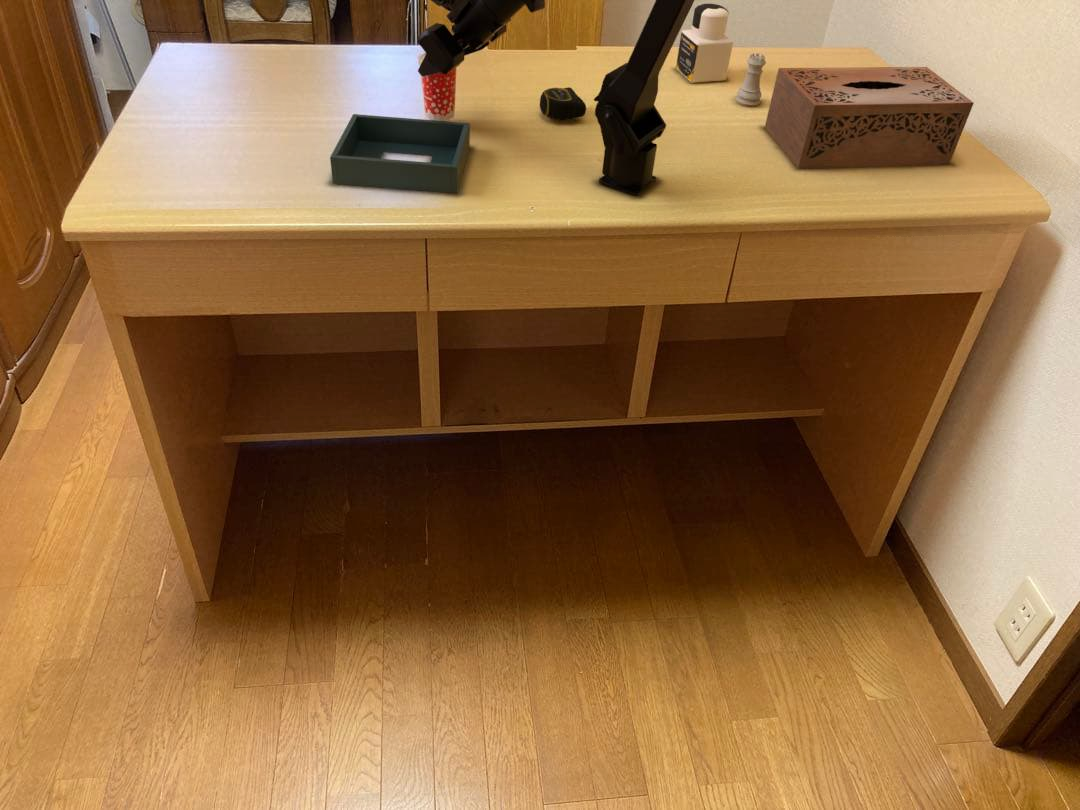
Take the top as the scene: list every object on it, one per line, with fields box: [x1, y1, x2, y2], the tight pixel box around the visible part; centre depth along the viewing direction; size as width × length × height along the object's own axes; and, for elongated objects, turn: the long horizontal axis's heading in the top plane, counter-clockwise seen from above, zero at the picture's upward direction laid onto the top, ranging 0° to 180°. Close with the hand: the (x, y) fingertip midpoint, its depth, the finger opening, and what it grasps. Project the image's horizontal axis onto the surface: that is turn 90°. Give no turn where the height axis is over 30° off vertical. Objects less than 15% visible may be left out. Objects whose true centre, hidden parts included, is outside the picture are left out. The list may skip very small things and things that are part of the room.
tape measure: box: [539, 86, 587, 121], centre depth 142 cm, size 7×7×4 cm
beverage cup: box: [417, 51, 457, 121], centre depth 133 cm, size 6×6×14 cm
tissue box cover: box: [764, 66, 975, 170], centre depth 137 cm, size 26×14×10 cm, turn 100°
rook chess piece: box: [735, 53, 767, 107], centre depth 149 cm, size 4×4×8 cm
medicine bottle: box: [675, 3, 734, 84], centre depth 156 cm, size 7×7×12 cm
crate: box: [329, 113, 471, 194], centre depth 126 cm, size 18×15×4 cm
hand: (430, 66), depth 133 cm, fingers closed on beverage cup, 6 cm apart
